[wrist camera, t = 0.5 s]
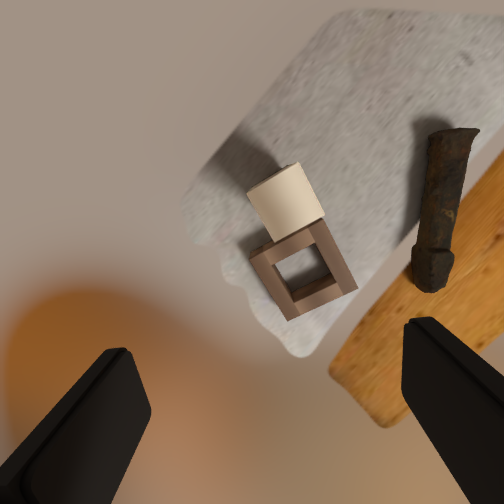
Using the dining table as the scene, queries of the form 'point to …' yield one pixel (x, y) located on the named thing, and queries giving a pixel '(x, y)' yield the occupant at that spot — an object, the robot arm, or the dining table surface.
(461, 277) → the dining table surface
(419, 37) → the dining table surface
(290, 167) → the peg
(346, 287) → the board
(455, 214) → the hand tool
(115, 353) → the robot arm
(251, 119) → the dining table surface
